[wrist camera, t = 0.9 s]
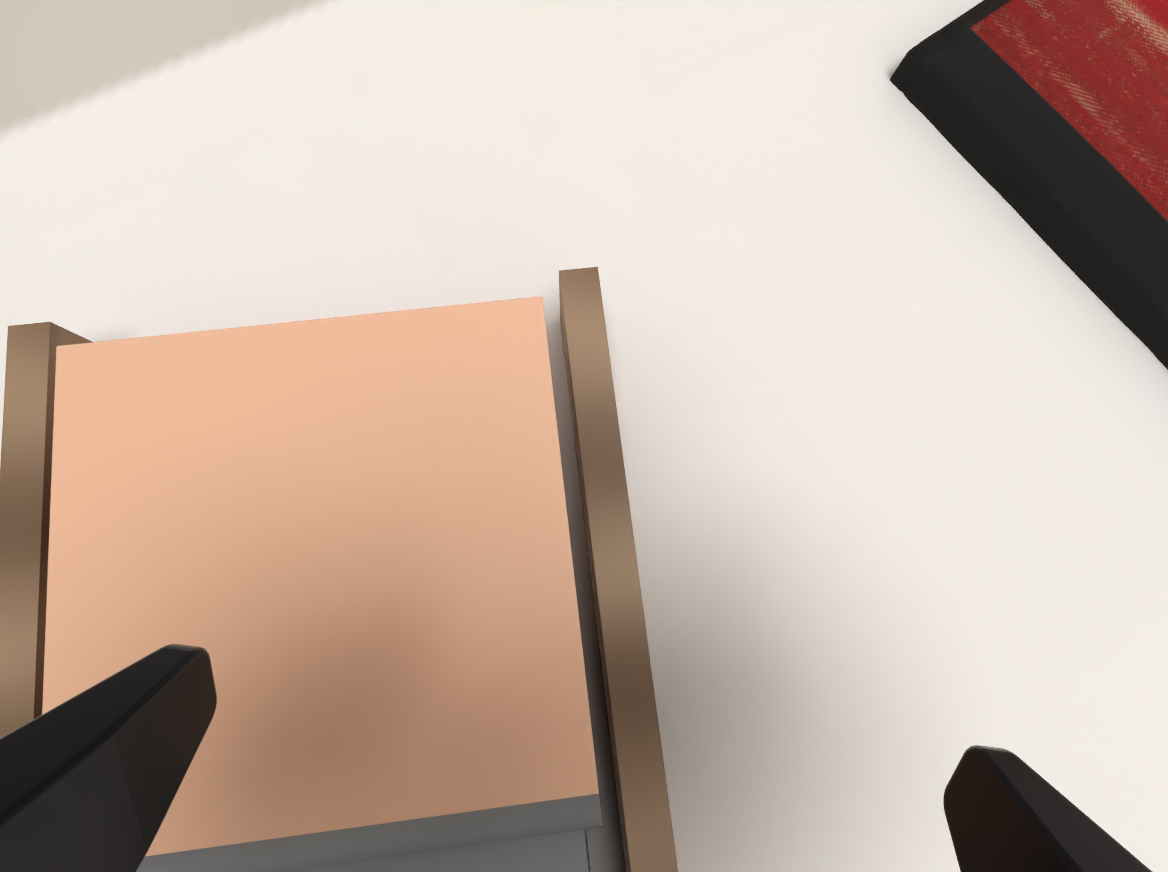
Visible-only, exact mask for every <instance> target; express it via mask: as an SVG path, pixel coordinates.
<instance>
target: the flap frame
mask: <svg viewBox="0 0 1168 872" xmlns="http://www.w3.org/2000/svg"><path fill="white" fill-rule="evenodd" d="M559 288H560V320H561V328H562V336H563V345H564V353H565V362H566V370H567V378H568V387H569V395H570V404H571V412H572V420H573V429H574V437H575V446H576V454H577V463H578V471H579V479H580V488H581V496H582V505H583V513H584V521H585V530H586V538H587V547H588V555H589V563H590V572H591V580H592V589H593V597H594V605H595V614H596V622H597V631H598V639H599V648H600V656H601V664H602V673H603V681H604V690H605V698H606V706H607V715H608V723H609V732H610V740H611V748H612V757H613V765H614V774H615V782H616V790H617V799H618V807H619V816H620V824H621V832H622V841H623V849H624V858H625V866H626V872H678V869H677V861H676V854H675V846H674V838H673V831H672V823H671V816H670V808H669V801H668V793H667V786H666V778H665V771H664V763H663V756H662V748H661V741H660V733H659V725H658V718H657V710H656V703H655V695H654V688H653V680H652V673H651V665H650V658H649V650H648V643H647V635H646V628H645V620H644V613H643V605H642V597H641V590H640V582H639V575H638V567H637V560H636V552H635V545H634V537H633V530H632V522H631V515H630V507H629V500H628V492H627V484H626V477H625V469H624V462H623V454H622V447H621V439H620V432H619V424H618V417H617V409H616V402H615V394H614V387H613V379H612V372H611V364H610V356H609V349H608V341H607V334H606V326H605V319H604V311H603V304H602V296H601V289H600V281H599V274H598V267H592V268H582V269H572V270H562V271H559ZM82 343H92V342H91V341H89V340H87V339H85V338H83V337H81V336H79V335H77V334H74V333H72V332H70V331H68V330H66V329H64V328H62V327H60V326H58V325H55V324H53V323H51V322H44V323H34V324H24V325H14V326H8V338H7V357H6V375H5V393H4V412H3V430H2V449H1V467H0V738H2V737H4V736H5V735H7V734H9V733H11V732H12V731H14V730H16V729H18V728H20V727H21V726H23V725H25V724H27V723H28V722H30V721H32V720H34V719H35V718H37V717H39V716H41V715H42V706H43V681H44V655H45V629H46V604H47V578H48V552H49V527H50V501H51V475H52V450H53V424H54V399H55V373H56V347H57V346H63V345H72V344H82Z"/></svg>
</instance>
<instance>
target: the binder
mask: <svg viewBox="0 0 1168 872" xmlns="http://www.w3.org/2000/svg"><path fill="white" fill-rule="evenodd" d="M890 81H891V82H892V83H893V84H894V85H895V86H896V87H897V88H898V89H899V90H900V91H902V92H903V93H904V95H905V96H906V98H907V99H908V100H909V101H910V102H911V103H912V104H913V105H914V106H915V107H916V108H917V109H918V110H919V111H920V112H921V113H922V114H923V115H924V116H925V117H926V118H927V119H928V120H929V121H930V122H931V123H932V124H933V125H934V126H935V127H936V129H937V130H938V131H939V132H940V133H941V134H942V135H943V136H944V137H945V138H946V139H947V141H948V142H949V143H950V144H951V145H952V146H953V147H954V148H955V149H956V150H957V151H958V152H959V153H960V154H961V155H962V156H963V157H964V158H965V159H966V160H967V161H968V162H969V163H970V165H971V166H972V167H973V168H974V169H975V170H976V171H977V172H978V173H979V174H980V175H981V176H982V177H983V178H984V179H985V180H986V181H987V182H988V183H989V184H990V185H991V186H992V187H993V188H994V189H996V190H997V191H998V192H999V194H1000V195H1001V196H1002V197H1003V198H1004V199H1005V200H1006V201H1007V202H1008V203H1009V204H1010V205H1011V206H1012V207H1013V208H1014V209H1015V210H1016V212H1017V213H1018V214H1019V215H1020V216H1021V217H1022V218H1023V219H1024V220H1025V221H1026V222H1027V224H1028V225H1029V226H1030V227H1031V228H1032V229H1033V230H1034V231H1035V232H1036V233H1037V234H1038V235H1039V236H1040V237H1041V238H1042V239H1043V241H1044V242H1045V243H1046V244H1047V245H1048V246H1049V247H1050V248H1051V249H1052V250H1053V251H1054V252H1055V253H1056V254H1057V255H1058V256H1059V257H1060V258H1061V260H1062V261H1063V262H1064V263H1065V264H1066V265H1067V266H1068V267H1069V268H1070V269H1071V270H1072V271H1073V272H1074V273H1075V274H1076V275H1077V276H1078V277H1079V278H1080V279H1081V280H1082V281H1083V282H1084V283H1085V284H1086V285H1087V286H1088V287H1089V288H1090V289H1091V290H1092V292H1093V293H1094V294H1095V295H1096V296H1097V297H1098V298H1099V299H1100V300H1101V301H1102V302H1103V303H1104V304H1105V305H1106V306H1107V307H1108V308H1109V309H1110V310H1111V311H1112V312H1113V313H1114V314H1115V315H1116V316H1117V317H1118V318H1119V319H1120V320H1121V321H1122V322H1123V323H1124V324H1125V325H1126V326H1127V327H1128V328H1129V329H1130V330H1131V331H1132V332H1133V333H1134V334H1135V335H1136V336H1137V337H1138V338H1139V339H1140V340H1141V341H1142V342H1143V343H1144V344H1145V345H1146V346H1147V347H1148V348H1149V349H1150V350H1151V352H1152V353H1153V354H1154V355H1155V356H1156V357H1157V359H1158V360H1159V361H1160V362H1161V363H1162V364H1163V365H1164V366H1165V367H1166V368H1167V369H1168V0H984V1H982V2H981V3H979V4H978V5H976V6H975V7H973V8H972V9H970V10H969V11H967V12H966V13H964V14H963V15H961V16H960V17H958V18H957V19H955V20H953V21H952V22H950V23H949V24H947V25H946V26H945V27H943V28H942V29H940V30H939V31H937V32H935V33H934V34H932V35H931V36H929V37H928V38H926V39H925V40H923V41H922V42H920V43H919V44H918V45H916V46H915V47H913V48H912V49H911V50H909V51H908V52H907V54H906V56H905V57H904V59H903V60H902V62H901V63H900V65H899V66H898V68H897V69H896V71H895V72H894V74H893V75H892V77H891V79H890Z"/></svg>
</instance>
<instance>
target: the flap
mask: <svg viewBox="0 0 1168 872" xmlns="http://www.w3.org/2000/svg"><path fill="white" fill-rule="evenodd" d="M169 644H181V645H189V646H197V647H202V648H205V649H206V651H207V652H208V653H209V656H210V660H211V666H212V671H213V677H214V682H215V688H216V694H217V705H216V710H215V713H214V716H213V718H212V721H211V723H210V725H209V727H208V729H207V731H206V733H205V735H204V737H203V739H202V741H201V744H200V746H199V748H198V750H197V752H196V754H195V756H194V758H193V760H192V762H191V764H190V766H189V768H188V770H187V772H186V775H185V777H184V779H183V781H182V783H181V785H180V787H179V789H178V791H177V793H176V795H175V797H174V799H173V801H172V803H171V806H170V808H169V810H168V812H167V814H166V816H165V818H164V820H163V822H162V824H161V826H160V828H159V830H158V832H157V834H156V836H155V838H154V840H153V842H152V844H151V846H150V848H149V850H148V852H147V853H146V855H145V857H144V859H143V860H142V862H141V864H140V866H139V867H138V869H137V871H136V872H591V871H590V862H589V853H588V844H587V835H586V829H592V828H599V827H603V824H602V815H601V806H600V797H599V788H598V780H597V771H596V762H595V753H594V745H593V736H592V727H591V718H590V710H589V701H588V692H587V683H586V674H585V666H584V657H583V648H582V639H581V631H580V622H579V613H578V604H577V596H576V587H575V578H574V569H573V561H572V552H571V543H570V534H569V525H568V517H567V508H566V499H565V490H564V482H563V473H562V464H561V455H560V447H559V438H558V429H557V420H556V411H555V403H554V394H553V385H552V376H551V368H550V359H549V350H548V341H547V333H546V324H545V315H544V306H543V298H542V297H532V298H523V299H513V300H503V301H493V302H483V303H474V304H464V305H454V306H444V307H434V308H425V309H415V310H405V311H395V312H386V313H376V314H366V315H356V316H346V317H337V318H327V319H317V320H307V321H297V322H288V323H278V324H268V325H258V326H249V327H239V328H229V329H219V330H209V331H200V332H190V333H180V334H170V335H160V336H151V337H141V338H131V339H121V340H112V341H102V342H92V343H82V344H72V345H63V346H57V347H56V373H55V399H54V424H53V450H52V475H51V501H50V527H49V552H48V578H47V604H46V629H45V655H44V681H43V706H42V715H43V714H44V713H46V712H48V711H50V710H51V709H53V708H55V707H57V706H59V705H60V704H62V703H64V702H66V701H67V700H69V699H71V698H73V697H74V696H76V695H78V694H80V693H82V692H83V691H85V690H87V689H89V688H90V687H92V686H94V685H96V684H98V683H99V682H101V681H103V680H105V679H106V678H108V677H110V676H112V675H114V674H115V673H117V672H119V671H121V670H122V669H124V668H126V667H128V666H129V665H131V664H133V663H135V662H137V661H138V660H140V659H142V658H144V657H145V656H147V655H149V654H151V653H153V652H154V651H156V650H158V649H160V648H162V647H164V646H166V645H169Z"/></svg>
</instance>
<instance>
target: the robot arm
mask: <svg viewBox="0 0 1168 872" xmlns="http://www.w3.org/2000/svg"><path fill="white" fill-rule="evenodd" d="M216 705H217V694H216V688H215V682H214V677H213V671H212V666H211V660H210V656H209V653H208V652H207V651H206V649H205V648H202V647H197V646H189V645H181V644H169V645H166V646H164V647H162V648H160V649H158V650H156V651H154V652H153V653H151V654H149V655H147V656H145V657H144V658H142V659H140V660H138V661H137V662H135V663H133V664H131V665H129V666H128V667H126V668H124V669H122V670H121V671H119V672H117V673H115V674H114V675H112V676H110V677H108V678H106V679H105V680H103V681H101V682H99V683H98V684H96V685H94V686H92V687H90V688H89V689H87V690H85V691H83V692H82V693H80V694H78V695H76V696H74V697H73V698H71V699H69V700H67V701H66V702H64V703H62V704H60V705H59V706H57V707H55V708H53V709H51V710H50V711H48V712H46V713H44V714H43V715H41V716H39V717H37V718H35V719H34V720H32V721H30V722H28V723H27V724H25V725H23V726H21V727H20V728H18V729H16V730H14V731H12V732H11V733H9V734H7V735H5V736H4V737H2V738H0V872H136V871H137V869H138V867H139V866H140V864H141V862H142V860H143V859H144V857H145V855H146V853H147V852H148V850H149V848H150V846H151V844H152V842H153V840H154V838H155V836H156V834H157V832H158V830H159V828H160V826H161V824H162V822H163V820H164V818H165V816H166V814H167V812H168V810H169V808H170V806H171V803H172V801H173V799H174V797H175V795H176V793H177V791H178V789H179V787H180V785H181V783H182V781H183V779H184V777H185V775H186V772H187V770H188V768H189V766H190V764H191V762H192V760H193V758H194V756H195V754H196V752H197V750H198V748H199V746H200V744H201V741H202V739H203V737H204V735H205V733H206V731H207V729H208V727H209V725H210V723H211V721H212V718H213V716H214V713H215V710H216ZM944 810H945V815H946V819H947V822H948V826H949V830H950V834H951V837H952V841H953V845H954V848H955V852H956V856H957V860H958V863H959V867H960V871H961V872H1152V871H1151V870H1150V869H1148V868H1147V867H1146V866H1145V865H1144V864H1143V863H1141V862H1140V861H1139V860H1138V859H1137V858H1136V857H1134V856H1133V855H1132V854H1131V853H1130V852H1129V851H1127V850H1126V849H1125V848H1124V847H1123V846H1122V845H1120V844H1119V843H1118V842H1117V841H1116V840H1115V839H1113V838H1112V837H1111V836H1110V835H1109V834H1108V833H1106V832H1105V831H1104V830H1103V829H1102V828H1101V827H1099V826H1098V825H1097V824H1096V823H1095V822H1093V821H1092V820H1091V819H1090V818H1089V817H1088V816H1086V815H1085V814H1084V813H1083V812H1082V811H1081V810H1079V809H1078V808H1077V807H1076V806H1075V805H1074V804H1072V803H1071V802H1070V801H1069V800H1068V799H1067V798H1065V797H1064V796H1063V795H1062V794H1061V793H1060V792H1058V791H1057V790H1056V789H1055V788H1054V787H1053V786H1051V785H1050V784H1049V783H1048V782H1047V781H1046V780H1044V779H1043V778H1042V777H1041V776H1040V775H1039V774H1037V773H1036V772H1035V771H1034V770H1033V769H1032V768H1030V767H1029V766H1028V765H1027V764H1026V763H1025V762H1023V761H1022V760H1021V759H1020V758H1019V757H1017V756H1016V755H1015V754H1014V753H1012V752H1010V751H1008V750H1006V749H1002V748H994V747H987V746H979V745H975V746H971V747H970V748H968V749H967V750H966V751H965V753H964V754H963V756H962V758H961V760H960V762H959V764H958V766H957V768H956V769H955V771H954V773H953V775H952V777H951V779H950V781H949V783H948V784H947V786H946V789H945V793H944Z"/></svg>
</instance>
